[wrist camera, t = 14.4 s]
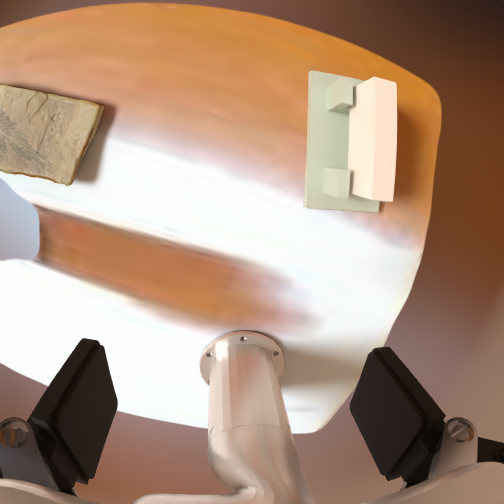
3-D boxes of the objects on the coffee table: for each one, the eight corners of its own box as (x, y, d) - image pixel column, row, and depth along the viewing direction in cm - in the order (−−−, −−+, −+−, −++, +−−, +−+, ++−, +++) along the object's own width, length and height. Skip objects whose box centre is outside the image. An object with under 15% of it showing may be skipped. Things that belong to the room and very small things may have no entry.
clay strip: (349, 89, 27) (374, 76, 21) (368, 93, 27) (396, 82, 21) (346, 192, 30) (371, 199, 25) (365, 193, 31) (392, 201, 25)
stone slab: (-31, 83, 20) (96, 94, 24) (-16, 86, 24) (110, 101, 28) (-50, 155, 23) (65, 198, 27) (-35, 154, 27) (81, 194, 31)
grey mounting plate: (374, 210, 35) (399, 221, 29) (303, 206, 34) (319, 216, 28) (379, 87, 30) (405, 77, 24) (308, 73, 29) (325, 56, 23)
